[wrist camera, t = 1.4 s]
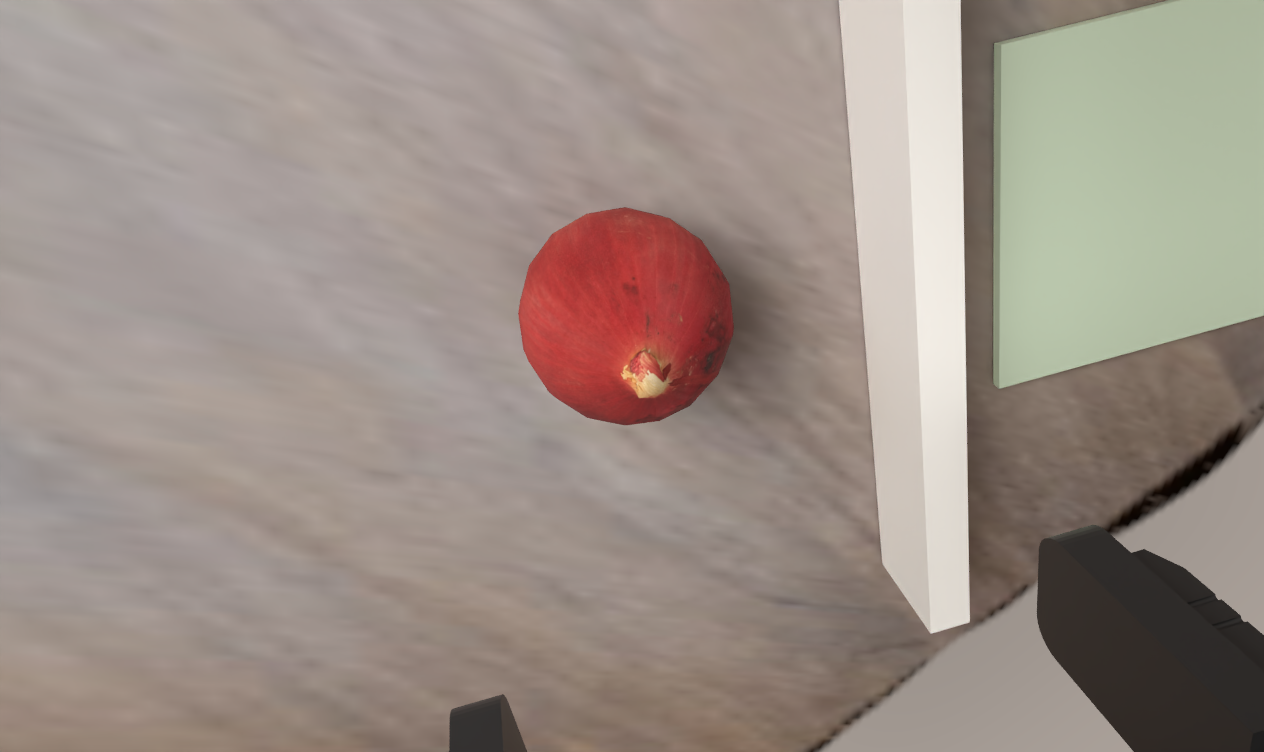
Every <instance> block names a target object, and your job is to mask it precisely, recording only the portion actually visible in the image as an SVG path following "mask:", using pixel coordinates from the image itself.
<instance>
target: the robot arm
mask: <svg viewBox="0 0 1264 752" xmlns="http://www.w3.org/2000/svg"><path fill="white" fill-rule="evenodd" d="M1037 619H1038V624H1039V628H1040V631H1041V634H1042V636H1043V639H1044V641H1045V643H1046V645H1047V647H1048V649H1049V650H1050V652H1051V654H1052V655H1053V656H1054V658H1055V659H1056V660H1057V661H1058V662H1059V664H1060V665H1061V666H1062V667H1063V669H1064V670H1065V671H1066V672H1067V673H1068V674H1069V676H1070V677H1071V678H1072V679H1073V680H1074V682H1075V683H1076V684H1077V685H1078V686H1079V687H1080V688H1081V690H1082V691H1083V692H1084V693H1085V694H1086V696H1087V697H1088V698H1089V699H1090V700H1091V702H1092V703H1093V704H1094V705H1095V706H1096V708H1097V709H1098V710H1099V711H1100V712H1101V713H1102V714H1103V716H1104V717H1105V718H1106V719H1107V720H1108V722H1109V723H1110V724H1111V725H1112V726H1113V728H1114V729H1115V730H1116V731H1117V732H1118V733H1119V734H1120V736H1121V737H1122V738H1123V739H1124V740H1125V742H1126V743H1127V744H1128V745H1129V746H1130V748H1131V749H1132V750H1133V751H1134V752H1264V635H1263V634H1262V633H1260V632H1259V631H1258V630H1257V629H1256V628H1254V627H1253V626H1252V625H1251V624H1250V623H1249V622H1243V621H1242V619H1241V616H1240V615H1239V614H1238V613H1237V612H1236V611H1234V610H1233V609H1232V608H1231V607H1230V606H1229V605H1227V604H1226V603H1225V602H1224V601H1222V600H1218V599H1217V598H1216V596H1215V594H1214V593H1213V592H1212V591H1211V590H1210V589H1208V588H1207V587H1206V586H1205V585H1204V584H1202V583H1201V582H1200V581H1199V580H1198V579H1197V578H1195V577H1194V576H1193V575H1192V574H1191V573H1190V572H1188V571H1187V570H1186V569H1184V568H1183V567H1181V566H1179V565H1177V564H1174V563H1172V562H1170V561H1168V560H1166V559H1164V558H1162V557H1160V556H1158V555H1155V554H1153V553H1151V552H1149V551H1147V550H1145V549H1143V550H1140V551H1137V552H1133V553H1131V552H1129V551H1128V550H1127V549H1126V548H1125V547H1124V546H1123V545H1122V544H1120V543H1119V542H1118V541H1117V540H1116V539H1115V538H1114V537H1113V536H1111V535H1110V534H1109V533H1108V532H1107V531H1106V530H1104V529H1103V528H1101V527H1099V526H1096V525H1091V526H1087V527H1084V528H1080V529H1077V530H1073V531H1070V532H1066V533H1063V534H1060V535H1056V536H1053V537H1049V538H1046V539H1044V540H1042V542H1041V543H1040V547H1039V564H1038V597H1037ZM449 752H527V750H526V748H525V745H524V742H523V740H522V737H521V735H520V732H519V729H518V727H517V724H516V722H515V719H514V716H513V714H512V711H511V708H510V706H509V703H508V701H507V699H506V697H505V696H504V695H503V694H502V695H499V696H495V697H492V698H489V699H485V700H482V701H478V702H475V703H471V704H468V705H464V706H461V707H458V708H454V709H452V710H451V713H450V751H449Z"/></svg>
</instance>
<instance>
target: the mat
mask: <svg viewBox="0 0 1264 752" xmlns="http://www.w3.org/2000/svg"><path fill="white" fill-rule="evenodd" d="M1260 316H1264V0H1168V1H1164V2H1160V3H1155V4H1151V5H1147V6H1143V7H1139V8H1135V9H1131V10H1127V11H1123V12H1119V13H1115V14H1111V15H1107V16H1103V17H1099V18H1095V19H1091V20H1086V21H1082V22H1078V23H1074V24H1070V25H1066V26H1062V27H1058V28H1054V29H1050V30H1046V31H1042V32H1038V33H1034V34H1030V35H1026V36H1022V37H1017V38H1013V39H1009V40H1005V41H1001V42H997V43H994V251H993V384H994V385H995V386H996V387H998V388H999V389H1000V388H1004V387H1008V386H1011V385H1015V384H1018V383H1022V382H1026V381H1029V380H1033V379H1037V378H1040V377H1044V376H1047V375H1051V374H1055V373H1058V372H1062V371H1065V370H1069V369H1073V368H1076V367H1080V366H1083V365H1087V364H1091V363H1094V362H1098V361H1102V360H1105V359H1109V358H1112V357H1116V356H1120V355H1123V354H1127V353H1130V352H1134V351H1138V350H1141V349H1145V348H1148V347H1152V346H1156V345H1159V344H1163V343H1167V342H1170V341H1174V340H1177V339H1181V338H1185V337H1188V336H1192V335H1195V334H1199V333H1203V332H1206V331H1210V330H1213V329H1217V328H1221V327H1224V326H1228V325H1232V324H1235V323H1239V322H1242V321H1246V320H1250V319H1253V318H1257V317H1260Z"/></svg>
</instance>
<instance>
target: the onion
mask: <svg viewBox="0 0 1264 752" xmlns="http://www.w3.org/2000/svg"><path fill="white" fill-rule="evenodd" d="M518 314H519V321H520V328H521V335H522V342H523V348H524V352H525V354H526V356H527V358H528V360H529V362H530V364H531V365H532V367H533V368H534V370H535V371H536V373H537V375H538V376H539V378H540V379H541V381H542V382H543V384H544V385H545V387H546V388H547V390H548V391H549V392H550V393H551V394H552V395H553V396H554V397H556V398H557V399H558V400H560V401H562V402H563V403H565V404H566V405H568V406H570V407H571V408H573V409H574V410H576V411H577V412H579V413H581V414H582V415H584V416H585V417H587V418H591V419H596V420H601V421H606V422H611V423H616V424H621V425H632V424H639V423H646V422H654V421H660V420H662V419H664V418H666V417H668V416H670V415H672V414H674V413H676V412H678V411H680V410H682V409H684V408H686V407H688V406H690V405H691V404H692V403H693V402H694V401H695V400H696V398H697V397H698V396H699V395H700V394H701V393H702V392H703V391H704V390H705V388H706V387H707V386H708V385H709V384H710V383H711V382H712V381H713V380H714V379H715V377H716V376H717V375H718V373H719V371H720V368H721V365H722V363H723V360H724V357H725V355H726V352H727V349H728V347H729V344H730V341H731V339H732V336H733V329H734V325H733V316H732V306H731V297H730V288H729V283H728V281H727V280H726V278H725V276H724V275H723V273H722V271H721V270H720V268H719V267H718V265H717V264H716V262H715V260H714V259H713V257H712V256H711V254H710V252H709V251H708V249H707V248H706V246H705V245H704V243H703V242H702V240H700V239H699V238H697V237H696V236H694V235H693V234H691V233H690V232H689V231H687V230H686V229H684V228H683V227H681V226H680V225H679V224H677V223H676V222H674V221H673V220H671V219H670V218H666V217H663V216H659V215H655V214H651V213H646V212H642V211H638V210H634V209H630V208H625V207H624V208H618V209H612V210H606V211H601V212H595V213H589V214H586V215H584V216H582V217H581V218H579V219H577V220H575V221H574V222H572V223H570V224H569V225H567V226H565V227H563V228H562V229H560V230H558V231H557V232H555V233H553V234H552V235H551V236H550V238H549V239H548V241H547V242H546V243H545V245H544V246H543V247H542V249H541V250H540V251H539V253H538V254H537V256H536V257H535V258H534V260H533V261H532V262H531V264H530V265H529V268H528V272H527V276H526V280H525V284H524V288H523V292H522V296H521V300H520V306H519V313H518Z"/></svg>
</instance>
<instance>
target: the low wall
mask: <svg viewBox="0 0 1264 752" xmlns="http://www.w3.org/2000/svg"><path fill="white" fill-rule="evenodd" d="M839 9H840V22H841V35H842V48H843V61H844V74H845V87H846V100H847V113H848V126H849V139H850V152H851V165H852V178H853V191H854V204H855V217H856V230H857V242H858V255H859V268H860V281H861V294H862V307H863V320H864V333H865V346H866V359H867V372H868V385H869V398H870V411H871V424H872V437H873V450H874V463H875V476H876V489H877V502H878V515H879V528H880V540H881V553H882V564H883V565H884V567H885V568H886V570H887V571H888V573H889V574H890V576H891V577H892V578H893V580H894V581H895V583H896V584H897V586H898V587H899V589H900V590H901V591H902V593H903V594H904V596H905V597H906V599H907V600H908V602H909V603H910V604H911V606H912V607H913V609H914V610H915V612H916V613H917V615H918V616H919V617H920V619H921V620H922V622H923V623H924V625H925V626H926V628H927V629H928V630H929V632H930V633H931V634H932V633H935V632H938V631H942V630H945V629H948V628H952V627H955V626H958V625H962V624H965V623H969V622H970V607H969V539H968V472H967V404H966V337H965V269H964V202H963V134H962V66H961V0H839Z"/></svg>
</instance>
